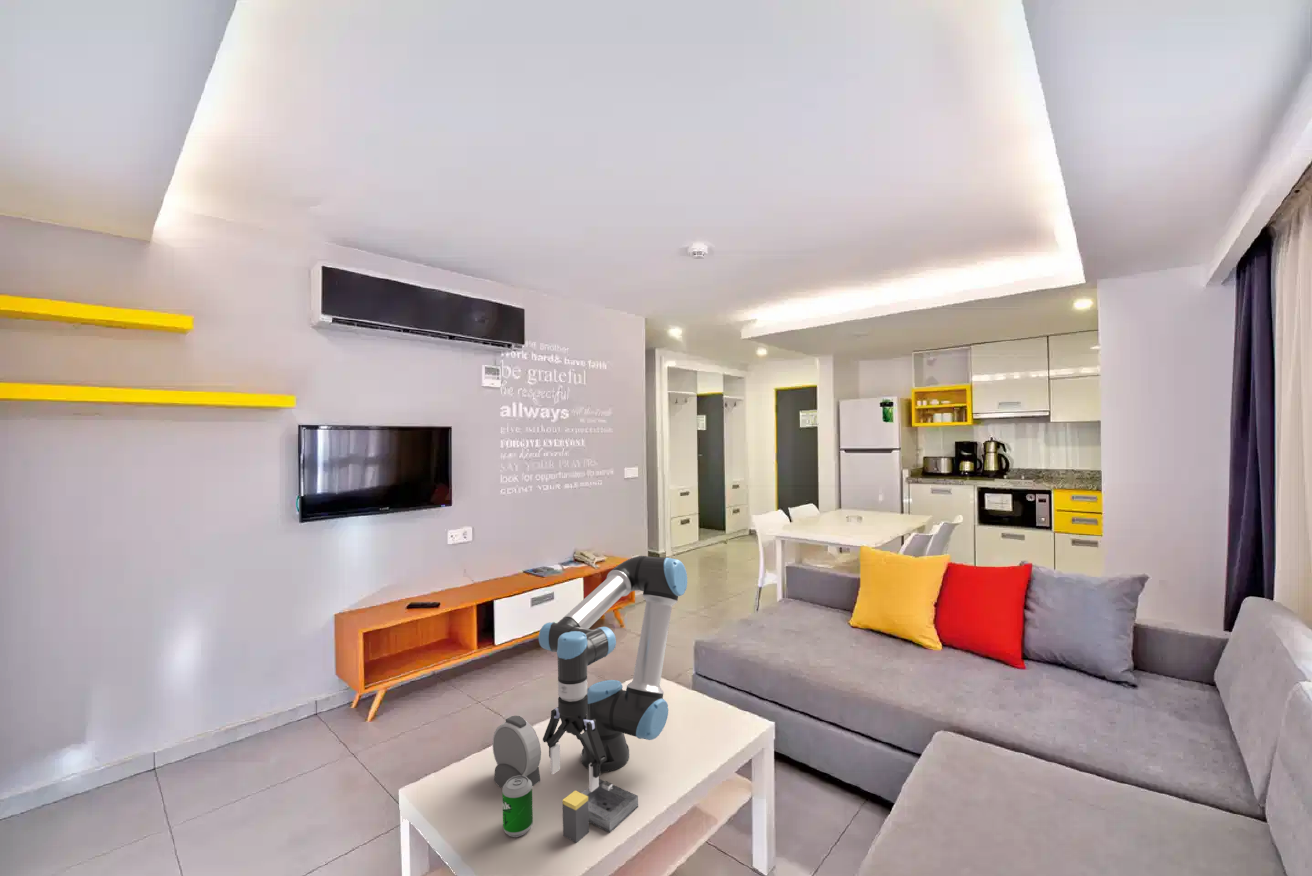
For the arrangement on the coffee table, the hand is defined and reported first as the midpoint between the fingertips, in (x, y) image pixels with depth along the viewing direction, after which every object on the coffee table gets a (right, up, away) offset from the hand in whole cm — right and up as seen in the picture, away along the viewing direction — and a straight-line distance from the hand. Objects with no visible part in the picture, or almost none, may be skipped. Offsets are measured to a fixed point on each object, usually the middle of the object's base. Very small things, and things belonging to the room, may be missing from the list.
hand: (574, 780), depth 138 cm
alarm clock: (-21, -15, +24) cm, 35 cm away
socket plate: (+7, -14, +9) cm, 18 cm away
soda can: (-15, -14, +2) cm, 21 cm away
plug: (+1, -14, 0) cm, 14 cm away
